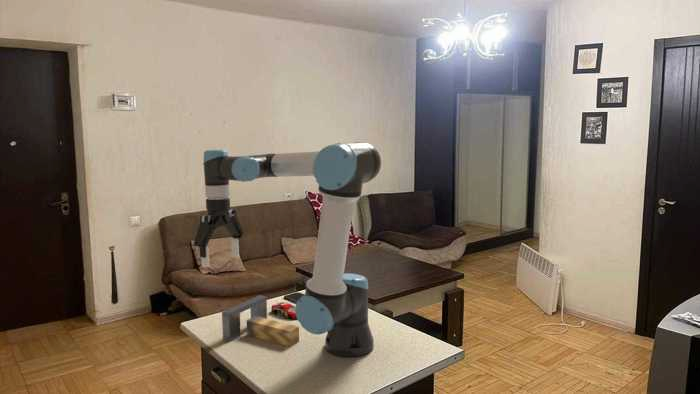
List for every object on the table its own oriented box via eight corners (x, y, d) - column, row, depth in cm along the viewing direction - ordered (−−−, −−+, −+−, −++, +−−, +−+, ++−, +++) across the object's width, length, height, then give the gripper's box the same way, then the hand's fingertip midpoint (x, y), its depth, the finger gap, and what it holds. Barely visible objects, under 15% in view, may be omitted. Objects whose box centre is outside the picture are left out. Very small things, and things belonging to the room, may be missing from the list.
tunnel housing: (267, 322, 183) (266, 296, 181) (229, 341, 167) (228, 313, 165) (260, 320, 184) (259, 295, 183) (223, 339, 168) (221, 311, 167)
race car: (304, 317, 188) (304, 306, 188) (293, 321, 184) (293, 311, 184) (280, 308, 197) (280, 298, 196) (269, 312, 193) (269, 302, 192)
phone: (298, 291, 213) (321, 300, 202) (298, 294, 213) (321, 303, 202) (282, 296, 208) (305, 305, 197) (282, 298, 208) (305, 308, 197)
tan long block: (299, 341, 167) (298, 326, 166) (290, 346, 163) (290, 331, 162) (256, 330, 176) (255, 315, 175) (247, 334, 172) (246, 320, 171)
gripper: (235, 192, 180) (238, 252, 183) (179, 202, 159) (183, 269, 162) (252, 193, 176) (255, 254, 179) (196, 203, 155) (200, 272, 158)
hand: (221, 262), depth 170 cm, fingers open, 13 cm apart
